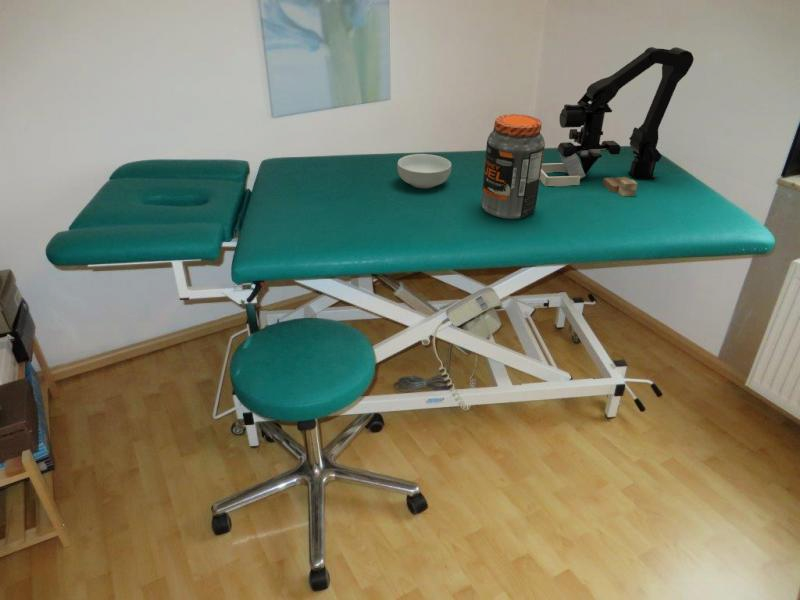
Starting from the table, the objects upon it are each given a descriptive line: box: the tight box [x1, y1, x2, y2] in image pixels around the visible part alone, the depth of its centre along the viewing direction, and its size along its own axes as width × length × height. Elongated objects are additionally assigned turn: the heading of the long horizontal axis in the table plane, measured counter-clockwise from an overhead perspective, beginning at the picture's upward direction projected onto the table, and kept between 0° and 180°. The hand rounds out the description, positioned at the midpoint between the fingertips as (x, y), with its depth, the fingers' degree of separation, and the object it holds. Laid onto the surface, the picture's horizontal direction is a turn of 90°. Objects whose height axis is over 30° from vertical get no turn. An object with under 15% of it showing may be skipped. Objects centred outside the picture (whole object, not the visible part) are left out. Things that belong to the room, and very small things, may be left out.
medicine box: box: [558, 152, 586, 180], centre depth 194 cm, size 8×4×9 cm, turn 178°
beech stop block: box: [617, 179, 638, 197], centre depth 185 cm, size 4×3×4 cm
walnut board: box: [602, 176, 638, 193], centre depth 190 cm, size 8×7×2 cm
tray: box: [540, 162, 582, 188], centre depth 195 cm, size 11×13×3 cm
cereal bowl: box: [396, 153, 452, 189], centre depth 189 cm, size 17×17×7 cm
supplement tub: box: [481, 113, 546, 220], centre depth 168 cm, size 16×16×26 cm
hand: (584, 174), depth 196 cm, fingers closed, pressing on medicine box
